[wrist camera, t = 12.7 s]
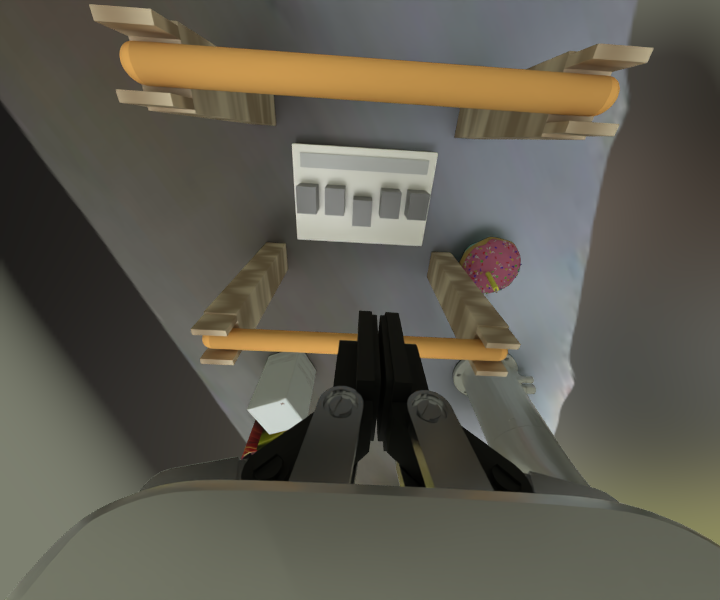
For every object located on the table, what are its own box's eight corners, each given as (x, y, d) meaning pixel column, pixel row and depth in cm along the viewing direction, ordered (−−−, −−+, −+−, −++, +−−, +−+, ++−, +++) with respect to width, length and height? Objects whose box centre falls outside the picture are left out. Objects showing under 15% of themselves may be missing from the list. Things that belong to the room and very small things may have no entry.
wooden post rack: (486, 97, 34) (655, 42, 14) (444, 277, 46) (505, 378, 27) (247, 80, 33) (87, -2, 14) (269, 268, 45) (201, 365, 26)
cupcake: (449, 281, 47) (475, 322, 36) (452, 232, 42) (481, 262, 32) (501, 276, 46) (543, 316, 36) (509, 225, 42) (559, 254, 31)
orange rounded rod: (608, 80, 17) (636, 73, 15) (593, 118, 18) (617, 116, 16) (131, 44, 16) (103, 34, 15) (142, 87, 17) (118, 81, 16)
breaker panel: (432, 152, 37) (444, 154, 32) (417, 239, 43) (425, 253, 38) (296, 143, 36) (286, 144, 31) (301, 233, 42) (293, 246, 37)
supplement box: (267, 355, 55) (244, 409, 44) (301, 345, 53) (286, 398, 43) (285, 380, 58) (268, 435, 47) (317, 371, 57) (307, 426, 46)
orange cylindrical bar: (504, 336, 27) (514, 350, 25) (498, 352, 28) (507, 366, 26) (206, 322, 26) (195, 335, 25) (210, 339, 27) (200, 352, 26)
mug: (276, 437, 68) (260, 491, 58) (253, 400, 62) (231, 453, 51) (313, 432, 67) (304, 486, 57) (294, 394, 60) (280, 447, 50)
